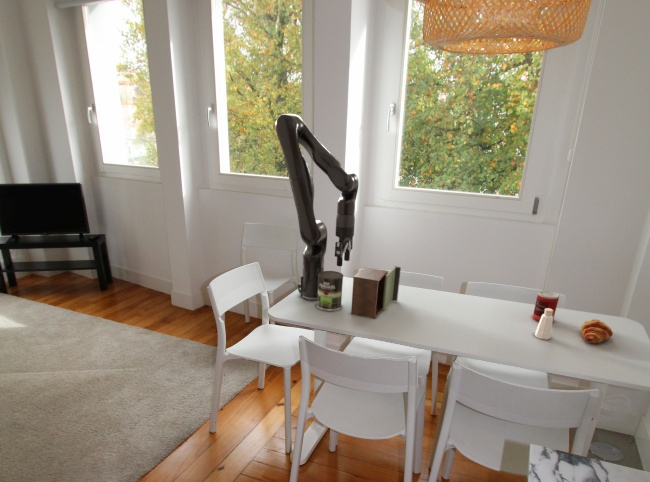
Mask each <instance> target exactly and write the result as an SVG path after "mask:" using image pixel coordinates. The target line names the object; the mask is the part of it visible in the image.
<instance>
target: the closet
mask: <svg viewBox="0 0 650 482" xmlns="http://www.w3.org/2000/svg"><path fill="white" fill-rule="evenodd" d="M388 273H389V270H385V269H378V268H373V267H372V268H371V267H363V268H362V269H361V270H360V271H358V272H357V273H356V274H355V275H354V276H353V277H352V278H353V279H352V281H353V282H352V296H351V307H350V308H351V310H350V315H353V316H354V315H355V316H360V317H364V318H369V319H373V320H374V319H376V318H377V317H378V316H379V314H380V313H381V312H382V311H383V310H382V307H383V296H384V286H385V276H386V275H387V274H388Z"/></svg>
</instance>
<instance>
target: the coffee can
mask: <svg viewBox="0 0 650 482" xmlns="http://www.w3.org/2000/svg"><path fill="white" fill-rule="evenodd" d="M343 282H344V274H343V273H342V272H339V271H336V270H324V271H323V272H320V273H319V274H318V300H317V304H316V307H317V308H318V309H319V310H322V311H325V312H326V311H327V312H335V311H339V310H340V309H341V308H342V301H343V300H342V299H343V298H342V297H343Z"/></svg>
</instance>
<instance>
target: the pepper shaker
mask: <svg viewBox="0 0 650 482" xmlns="http://www.w3.org/2000/svg"><path fill="white" fill-rule="evenodd" d="M552 312H553V310H552V309H550V308H546V309H545V312H544V314H543V315H542V316H541V319H540V321H539V322H538V324H537V327H536V329H535V332H534V336H535V337H536V338H538V339H540V340H546V341H547V340H549V339H551V336H552V329H553V320H554V319H553V316H552Z"/></svg>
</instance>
